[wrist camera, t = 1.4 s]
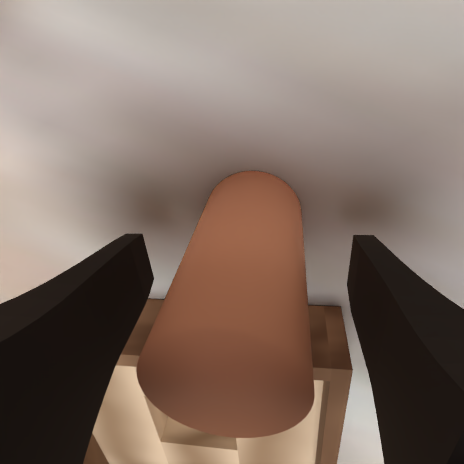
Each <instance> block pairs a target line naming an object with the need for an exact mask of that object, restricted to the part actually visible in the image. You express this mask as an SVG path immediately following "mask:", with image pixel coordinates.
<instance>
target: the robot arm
mask: <svg viewBox="0 0 464 464" xmlns="http://www.w3.org/2000/svg"><path fill="white" fill-rule="evenodd" d="M153 280H154V277H153V273H152V269H151V265H150V261H149V257H148V253H147V249H146V246H145V242H144V238H143V234H125V235H123V236H121V237H119V238H118V239H116V240H114V241H113V242H111V243H109V244H108V245H106V246H105V247H103V248H102V249H100V250H99V251H97V252H95V253H94V254H92V255H91V256H89V257H88V258H86V259H84V260H83V261H81V262H80V263H78V264H76V265H75V266H73V267H71V268H70V269H68V270H66V271H65V272H63V273H61V274H60V275H58V276H56V277H54V278H53V279H51V280H49V281H47V282H46V283H44V284H42V285H40V286H38V287H36V288H34V289H32V290H30V291H28V292H26V293H24V294H22V295H20V296H18V297H16V298H13V299H11V300H9V301H6V302H4V303H2V304H0V464H83V462H84V458H85V455H86V452H87V449H88V445H89V442H90V439H91V436H92V432H93V429H94V426H95V423H96V420H97V417H98V414H99V411H100V408H101V405H102V402H103V399H104V396H105V393H106V390H107V388H108V385H109V382H110V380H111V377H112V374H113V372H114V369H115V366H116V364H117V362H118V360H119V357H120V355H121V353H122V351H123V349H124V347H125V345H126V343H127V341H128V339H129V337H130V335H131V333H132V331H133V329H134V327H135V325H136V323H137V321H138V319H139V317H140V315H141V313H142V311H143V309H144V307H145V304H146V302H147V299H148V296H149V293H150V290H151V287H152V284H153ZM347 287H348V294H349V301H350V308H351V313H352V317H353V320H354V324H355V327H356V331H357V334H358V338H359V341H360V345H361V348H362V352H363V355H364V359H365V362H366V366H367V369H368V373H369V377H370V382H371V386H372V391H373V397H374V402H375V408H376V414H377V420H378V426H379V432H380V438H381V444H382V451H383V457H384V464H464V309H463V308H461V307H460V306H458V305H457V304H455V303H454V302H452V301H451V300H449V299H448V298H446V297H445V296H444V295H442V294H441V293H440V292H438V291H437V290H436V289H434V288H433V287H432V286H430V285H429V284H428V283H427V282H425V281H424V280H423V279H422V278H420V277H419V276H418V275H417V274H416V273H414V272H413V271H412V270H411V269H410V268H409V267H407V266H406V265H405V264H404V263H403V262H402V261H401V260H400V259H398V258H397V257H396V256H395V255H394V254H393V253H392V252H391V251H390V250H389V249H388V248H387V247H386V246H385V245H384V244H382V243H381V242H380V241H379V240H378V239H377V238H376V237H375V236H374V235H353V243H352V250H351V258H350V266H349V273H348V281H347Z"/></svg>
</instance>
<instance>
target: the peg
mask: <svg viewBox="0 0 464 464" xmlns="http://www.w3.org/2000/svg"><path fill="white" fill-rule="evenodd" d="M136 373H137V379H138V383H139V385H140V387H141V389H142V391H143V393H144V394H145V396H146V397H147V398H148V399H149V401H150V402H151V403H152V404H153V405H154V406H155V407H156V408H158V409H159V410H160V411H161V412H163V413H164V414H165V415H167V416H169V417H170V418H172V419H173V420H175V421H177V422H179V423H181V424H183V425H185V426H188V427H190V428H193V429H196V430H198V431H202V432H205V433H209V434H213V435H218V436H224V437H233V438H257V437H265V436H270V435H274V434H278V433H281V432H284V431H286V430H288V429H290V428H292V427H294V426H296V425H297V424H298V423H300V422H301V421H302V420H303V419H304V418H305V417H306V416H307V415H308V413H309V412H310V411H311V408H312V406H313V403H314V398H315V394H314V378H313V364H312V350H311V337H310V323H309V309H308V296H307V282H306V268H305V255H304V241H303V227H302V214H301V206H300V203H299V200H298V198H297V196H296V194H295V192H294V191H293V190H292V188H291V187H290V186H289V185H288V184H287V183H285V182H284V181H283V180H281V179H280V178H278V177H276V176H274V175H271V174H268V173H265V172H260V171H244V172H239V173H236V174H233V175H231V176H229V177H227V178H225V179H224V180H222V181H221V182H220V183H219V184H218V185H217V186H216V187H215V188H214V190H213V191H212V193H211V195H210V197H209V199H208V201H207V204H206V206H205V208H204V210H203V213H202V215H201V217H200V220H199V222H198V224H197V226H196V229H195V231H194V233H193V236H192V238H191V240H190V242H189V245H188V247H187V249H186V252H185V254H184V256H183V258H182V261H181V263H180V265H179V268H178V270H177V272H176V274H175V277H174V279H173V281H172V284H171V286H170V288H169V290H168V293H167V295H166V297H165V300H164V302H163V304H162V306H161V309H160V311H159V313H158V316H157V318H156V320H155V322H154V325H153V327H152V329H151V331H150V334H149V336H148V338H147V341H146V343H145V345H144V347H143V350H142V352H141V354H140V357H139V359H138V362H137V368H136Z"/></svg>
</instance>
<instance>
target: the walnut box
mask: <svg viewBox="0 0 464 464" xmlns="http://www.w3.org/2000/svg"><path fill="white" fill-rule="evenodd" d="M163 302H164V300H160V299H147V302H146V304H145V307H144V309H143V311H142V313H141V315H140V317H139V319H138V321H137V323H136V325H135V327H134V329H133V331H132V333H131V335H130V337H129V339H128V341H127V343H126V345H125V347H124V349H123V351H122V353H121V355H120V357H119V360H118V362H117V364H116V366H115V369H114V372H113V374H112V377H111V380H110V382H109V385H108V388H107V390H106V393H105V396H104V399H103V402H102V405H101V408H100V411H99V414H98V417H97V420H96V423H95V426H94V429H93V432H92V436H91V439H90V442H89V445H88V449H87V452H86V455H85V458H84V462H83V464H337V459H338V453H339V447H340V441H341V435H342V430H343V424H344V418H345V412H346V406H347V400H348V395H349V389H350V383H351V377H352V371H353V369H352V364H351V358H350V353H349V348H348V342H347V337H346V332H345V326H344V321H343V316H342V310H341V307H336V306H311V305H308V309H309V323H310V337H311V350H312V364H313V378H314V394H315V398H314V403H313V406H312V408H311V411H310V412H309V413H308V415H307V416H306V417H305V418H304V419H303V420H302V421H301V422H300V423H298V424H297V425H296V426H294V427H292V428H290V429H288V430H286V431H284V432H281V433H278V434H274V435H270V436H265V437H257V438H233V437H224V436H218V435H213V434H209V433H205V432H202V431H198V430H196V429H193V428H190V427H188V426H185V425H183V424H181V423H179V422H177V421H175V420H173V419H172V418H170V417H169V416H167V415H165V414H164V413H163V412H161V411H160V410H159V409H158V408H156V407H155V406H154V405H153V404H152V403H151V402H150V401H149V399H148V398H147V397H146V396H145V394H144V393H143V391H142V389H141V387H140V385H139V383H138V379H137V373H136V368H137V362H138V359H139V357H140V354H141V352H142V350H143V347H144V345H145V343H146V341H147V338H148V336H149V334H150V331H151V329H152V327H153V325H154V322H155V320H156V318H157V316H158V313H159V311H160V309H161V306H162V304H163Z"/></svg>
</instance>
